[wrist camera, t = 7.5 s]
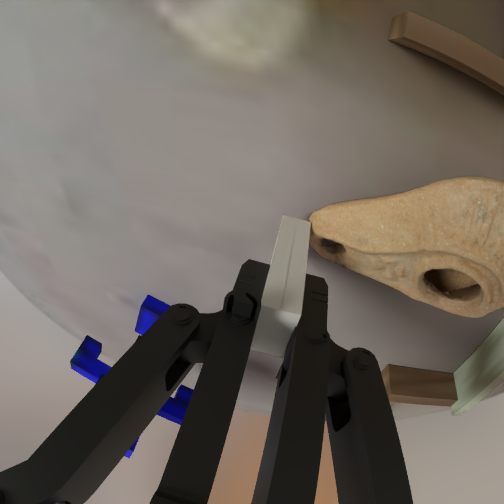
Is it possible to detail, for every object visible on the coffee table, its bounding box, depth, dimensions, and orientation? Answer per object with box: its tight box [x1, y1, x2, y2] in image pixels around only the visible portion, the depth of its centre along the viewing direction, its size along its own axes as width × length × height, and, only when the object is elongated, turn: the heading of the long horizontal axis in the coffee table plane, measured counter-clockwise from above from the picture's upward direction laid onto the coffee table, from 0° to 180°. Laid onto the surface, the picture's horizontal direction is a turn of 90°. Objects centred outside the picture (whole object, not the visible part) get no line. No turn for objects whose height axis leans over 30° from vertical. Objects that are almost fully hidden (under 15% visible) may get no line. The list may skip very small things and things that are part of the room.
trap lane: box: [325, 11, 504, 421], centre depth 15 cm, size 35×18×4 cm, turn 171°
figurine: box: [70, 295, 194, 458], centre depth 21 cm, size 8×8×12 cm
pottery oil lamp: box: [309, 176, 504, 318], centre depth 13 cm, size 9×12×7 cm
